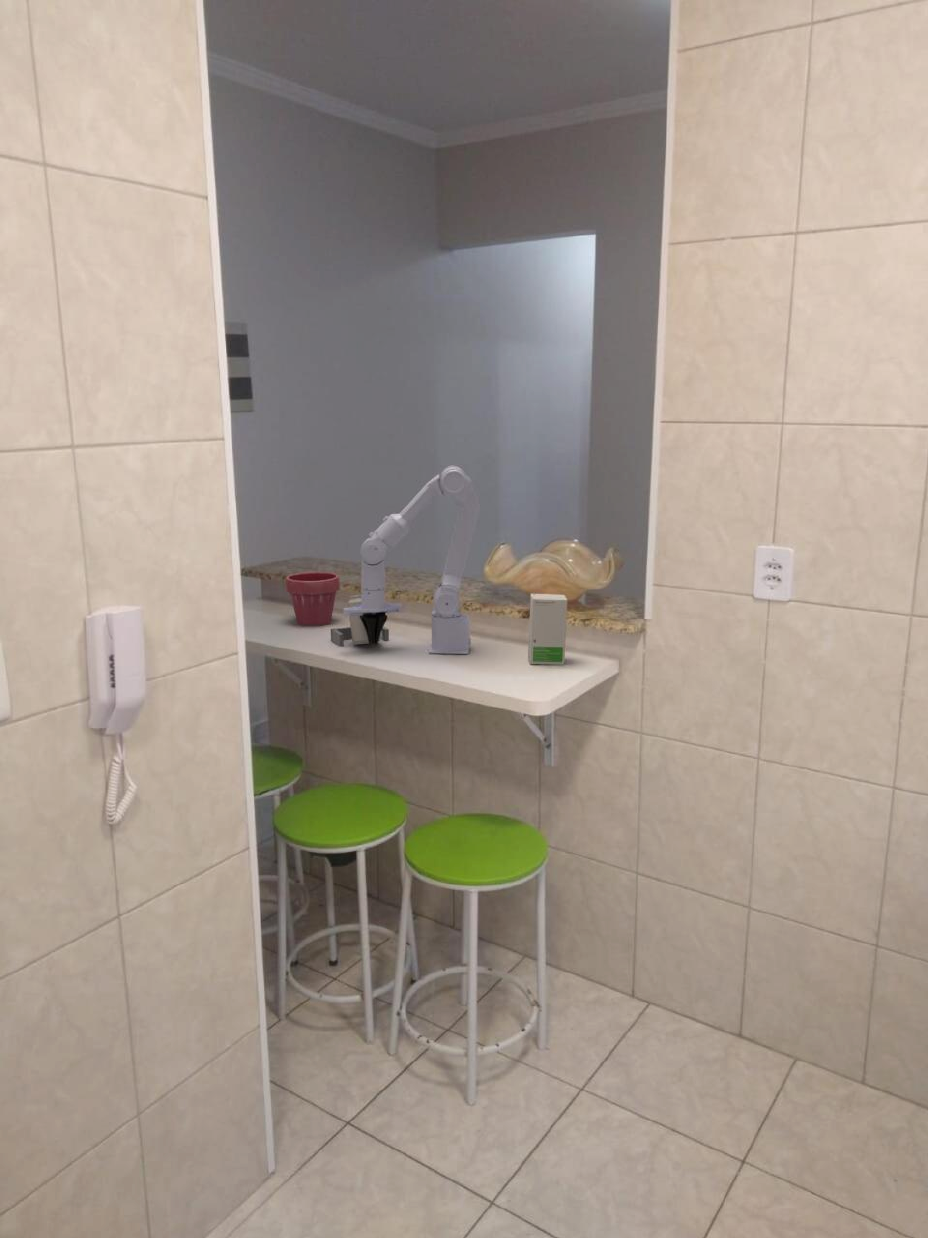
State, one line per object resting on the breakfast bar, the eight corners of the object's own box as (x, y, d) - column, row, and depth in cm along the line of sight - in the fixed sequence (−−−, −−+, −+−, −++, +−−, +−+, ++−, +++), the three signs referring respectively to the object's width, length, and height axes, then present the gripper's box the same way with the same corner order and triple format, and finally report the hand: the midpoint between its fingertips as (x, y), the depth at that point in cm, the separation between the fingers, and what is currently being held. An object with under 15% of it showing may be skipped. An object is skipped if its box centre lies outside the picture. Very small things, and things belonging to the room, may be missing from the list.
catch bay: (388, 640, 239) (388, 629, 238) (339, 646, 233) (339, 634, 232) (379, 634, 244) (379, 623, 244) (331, 640, 239) (330, 628, 238)
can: (378, 642, 229) (371, 593, 229) (348, 645, 231) (342, 596, 230) (386, 639, 237) (380, 592, 236) (358, 643, 238) (352, 595, 238)
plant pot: (284, 618, 262) (282, 572, 259) (335, 614, 266) (333, 570, 263) (291, 630, 249) (289, 582, 246) (344, 626, 253) (343, 579, 250)
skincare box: (529, 665, 218) (531, 599, 215) (527, 657, 225) (528, 593, 221) (566, 665, 218) (568, 599, 215) (562, 657, 225) (564, 593, 221)
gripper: (394, 583, 233) (394, 636, 236) (338, 587, 227) (339, 642, 230) (406, 588, 227) (405, 643, 230) (349, 593, 220) (349, 649, 224)
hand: (373, 643), depth 229 cm, fingers closed, pressing on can
